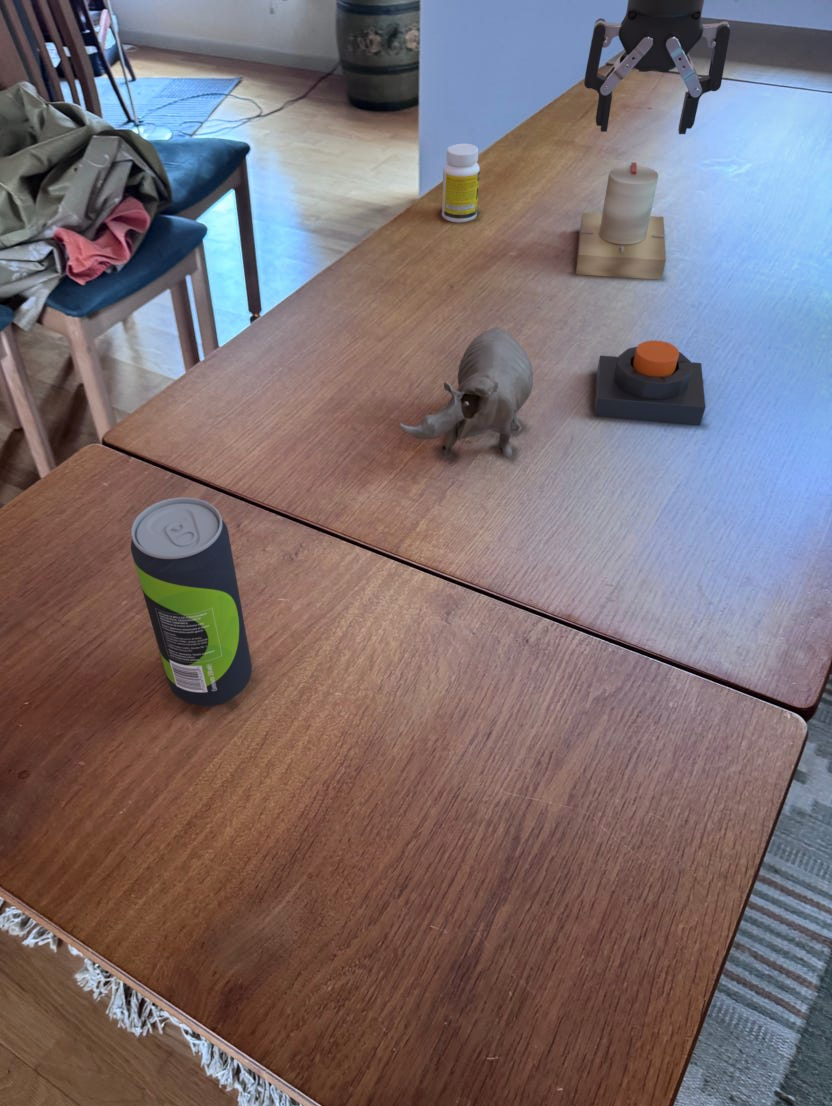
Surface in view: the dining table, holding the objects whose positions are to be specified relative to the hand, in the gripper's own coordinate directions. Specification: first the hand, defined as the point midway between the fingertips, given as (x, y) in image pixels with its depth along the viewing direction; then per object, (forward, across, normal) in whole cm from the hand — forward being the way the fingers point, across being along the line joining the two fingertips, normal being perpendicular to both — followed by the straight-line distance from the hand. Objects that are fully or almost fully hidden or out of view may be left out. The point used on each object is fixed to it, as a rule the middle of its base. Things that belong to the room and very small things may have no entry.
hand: (642, 130), depth 102 cm
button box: (+14, +3, -32) cm, 35 cm away
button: (+11, +3, -32) cm, 34 cm away
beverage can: (+14, -29, -75) cm, 82 cm away
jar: (+12, 0, 0) cm, 12 cm away
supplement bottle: (+14, -21, +9) cm, 27 cm away
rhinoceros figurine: (+14, -13, -42) cm, 46 cm away
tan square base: (+14, 0, 0) cm, 14 cm away
